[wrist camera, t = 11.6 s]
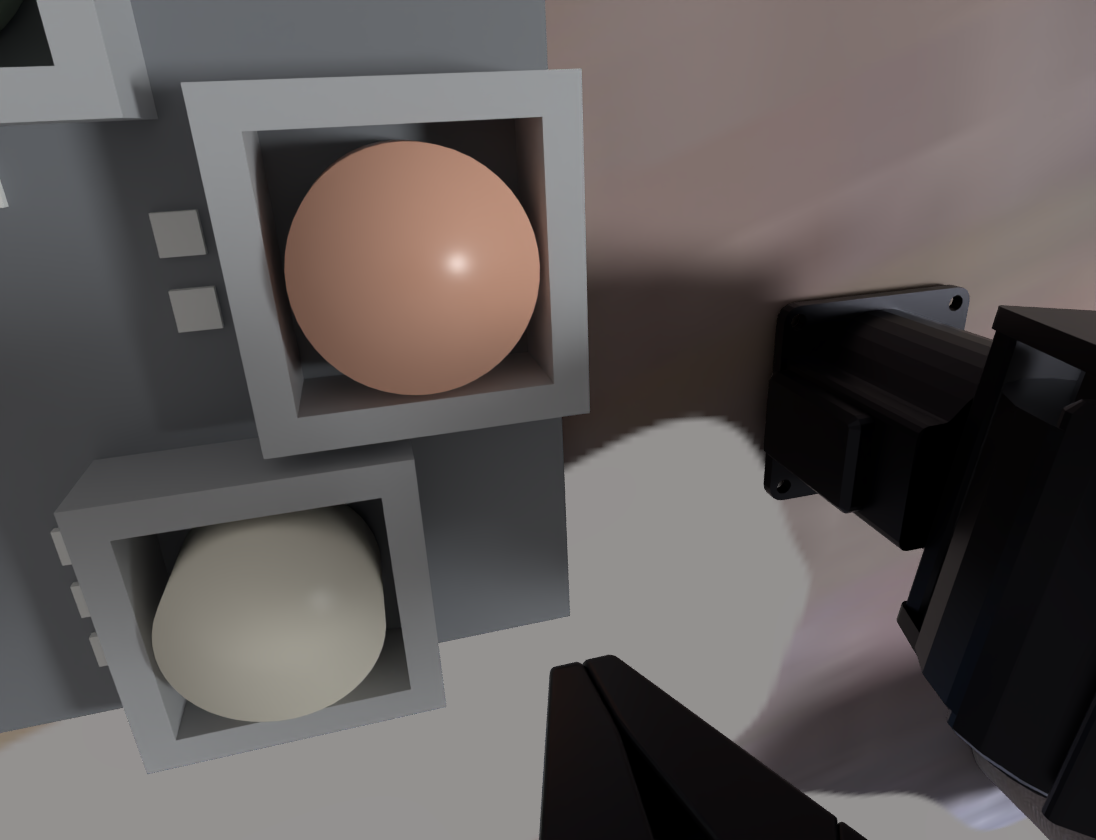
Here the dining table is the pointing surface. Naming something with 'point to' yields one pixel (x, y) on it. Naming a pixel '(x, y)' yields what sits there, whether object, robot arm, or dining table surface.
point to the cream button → (272, 614)
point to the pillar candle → (1027, 802)
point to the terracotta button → (411, 267)
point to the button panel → (259, 338)
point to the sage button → (8, 11)
